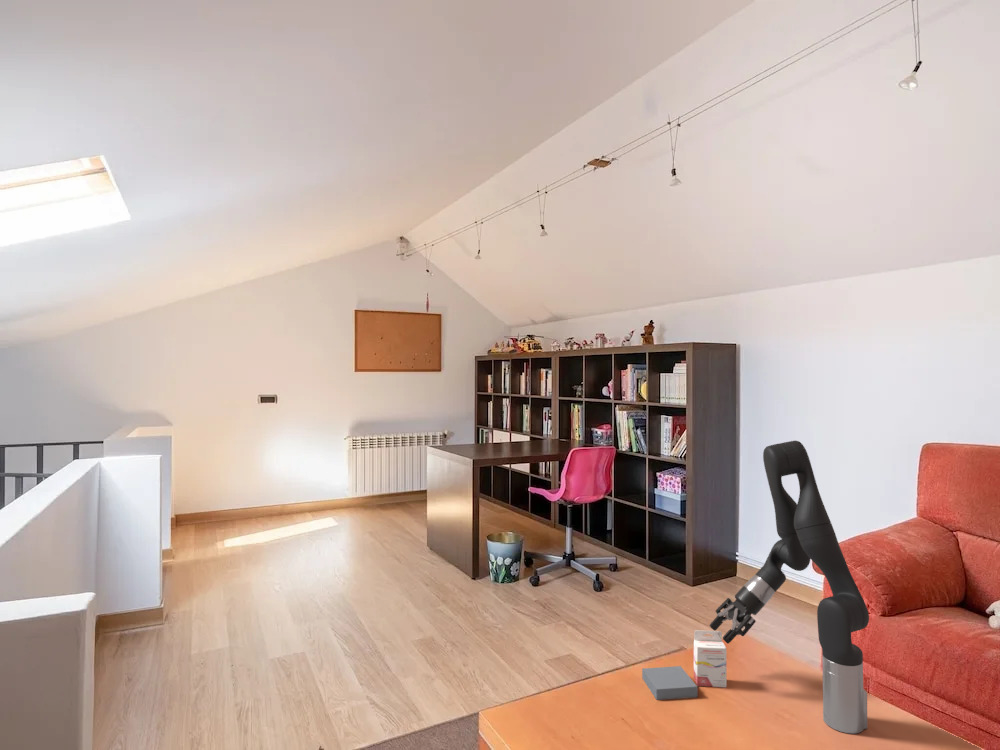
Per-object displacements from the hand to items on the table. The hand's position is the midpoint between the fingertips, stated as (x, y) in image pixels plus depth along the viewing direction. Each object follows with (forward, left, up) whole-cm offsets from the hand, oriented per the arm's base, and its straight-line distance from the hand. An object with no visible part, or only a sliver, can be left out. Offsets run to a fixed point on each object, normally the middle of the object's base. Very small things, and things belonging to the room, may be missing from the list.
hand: (718, 634), depth 179 cm
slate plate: (+16, +1, -14) cm, 21 cm away
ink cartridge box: (+3, 0, -14) cm, 15 cm away
